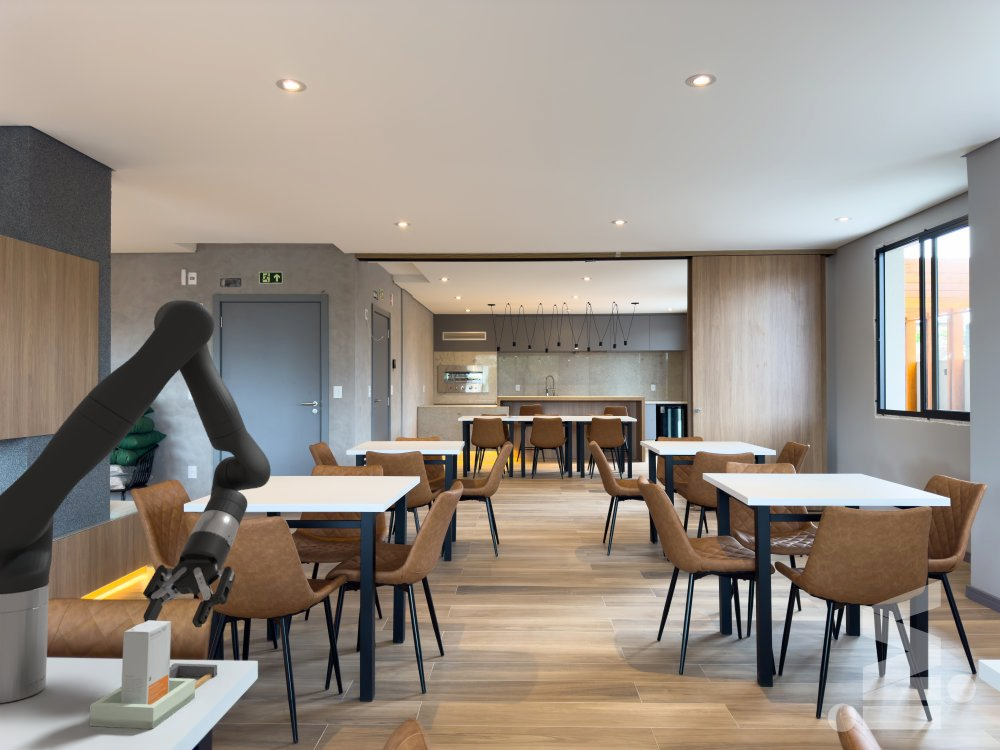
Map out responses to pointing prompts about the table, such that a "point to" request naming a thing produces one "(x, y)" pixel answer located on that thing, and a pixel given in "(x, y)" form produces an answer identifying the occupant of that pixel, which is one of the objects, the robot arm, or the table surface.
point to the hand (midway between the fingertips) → (172, 624)
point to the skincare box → (146, 662)
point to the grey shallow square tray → (193, 671)
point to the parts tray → (141, 707)
